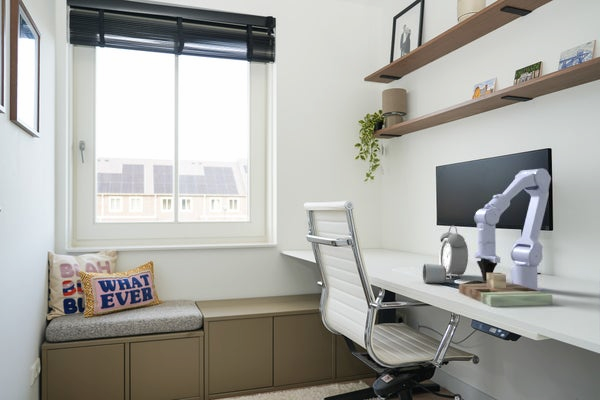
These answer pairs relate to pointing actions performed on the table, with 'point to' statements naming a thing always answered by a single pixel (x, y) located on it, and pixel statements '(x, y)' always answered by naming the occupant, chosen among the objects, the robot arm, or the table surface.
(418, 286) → the table surface
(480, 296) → the trap deck
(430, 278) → the ceramic mug
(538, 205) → the robot arm
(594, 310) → the table surface
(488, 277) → the birch block
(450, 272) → the alarm clock
